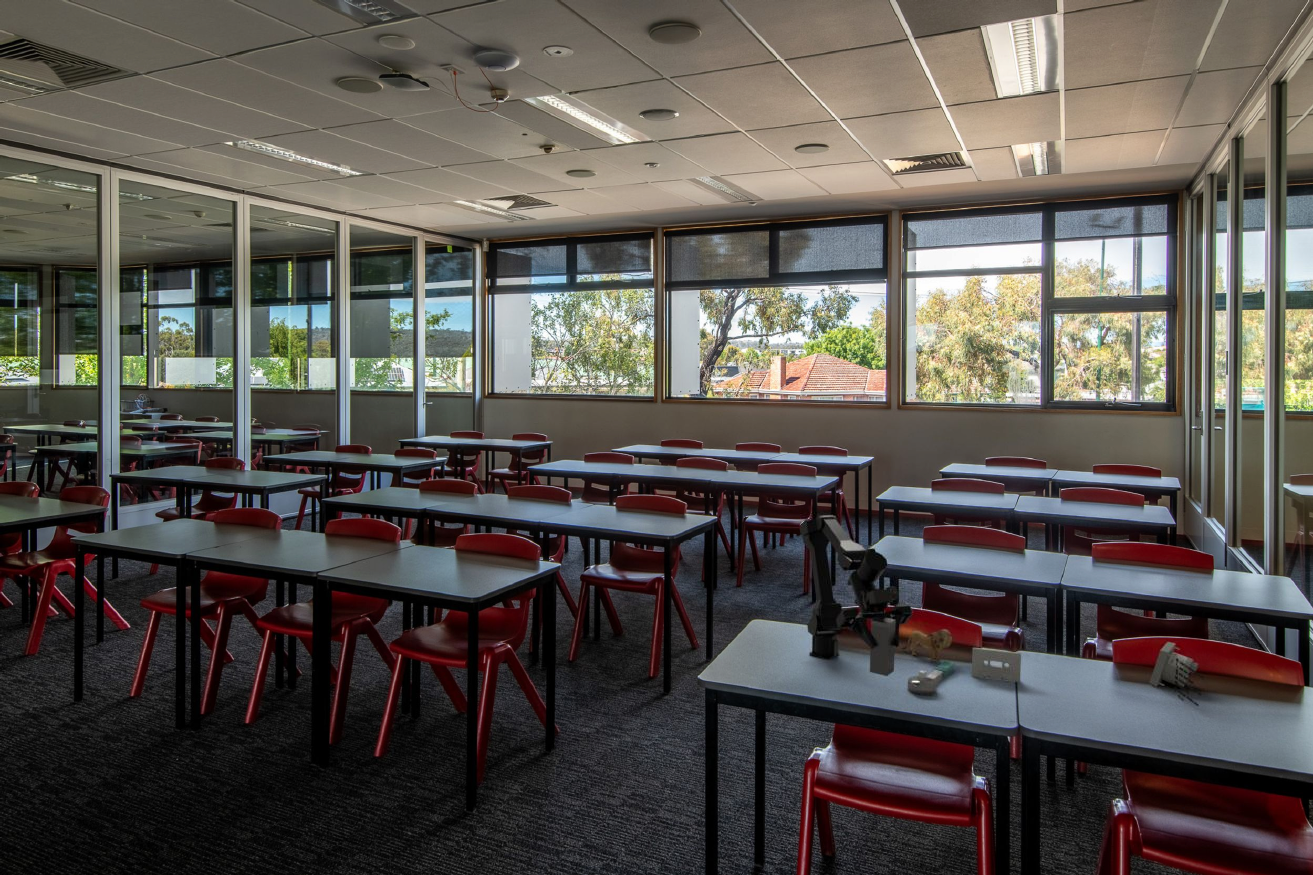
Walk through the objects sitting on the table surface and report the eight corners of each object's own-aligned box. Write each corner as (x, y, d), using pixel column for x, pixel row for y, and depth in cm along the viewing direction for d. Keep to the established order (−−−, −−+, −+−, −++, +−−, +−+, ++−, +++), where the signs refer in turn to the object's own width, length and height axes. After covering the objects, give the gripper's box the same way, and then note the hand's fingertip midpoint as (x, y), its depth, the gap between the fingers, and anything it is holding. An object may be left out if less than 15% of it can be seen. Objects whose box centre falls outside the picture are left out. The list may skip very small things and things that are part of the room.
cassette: (1019, 680, 219) (1021, 652, 218) (1020, 683, 217) (1021, 654, 217) (971, 674, 223) (972, 646, 223) (971, 676, 221) (972, 648, 221)
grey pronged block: (1135, 675, 224) (1137, 639, 223) (1180, 677, 223) (1182, 640, 222) (1187, 714, 198) (1190, 674, 197) (1238, 717, 196) (1241, 676, 196)
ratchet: (903, 691, 211) (903, 672, 210) (936, 666, 229) (937, 648, 229) (930, 698, 206) (931, 678, 206) (962, 671, 225) (963, 653, 225)
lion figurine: (954, 660, 234) (955, 629, 233) (946, 665, 230) (947, 633, 230) (905, 648, 244) (906, 618, 243) (897, 652, 240) (898, 622, 240)
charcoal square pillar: (869, 672, 205) (871, 620, 204) (877, 667, 208) (878, 616, 207) (886, 676, 202) (888, 623, 201) (893, 671, 205) (895, 619, 204)
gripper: (842, 576, 205) (861, 634, 195) (910, 573, 209) (933, 629, 199) (828, 599, 213) (846, 655, 203) (894, 595, 217) (914, 650, 208)
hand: (885, 647), depth 203 cm, fingers closed on charcoal square pillar, 6 cm apart
